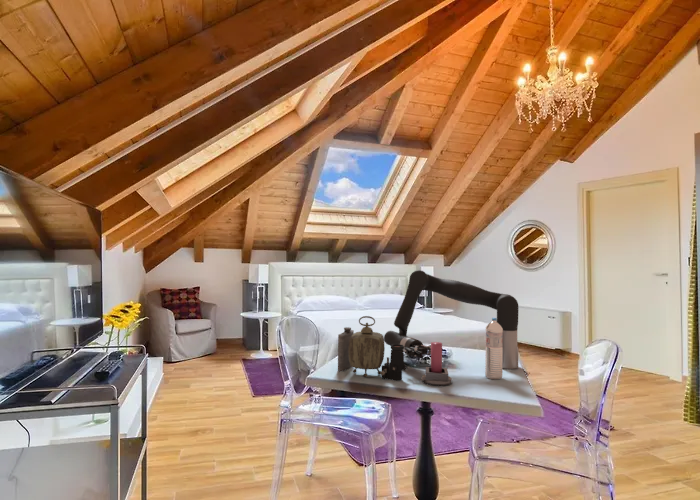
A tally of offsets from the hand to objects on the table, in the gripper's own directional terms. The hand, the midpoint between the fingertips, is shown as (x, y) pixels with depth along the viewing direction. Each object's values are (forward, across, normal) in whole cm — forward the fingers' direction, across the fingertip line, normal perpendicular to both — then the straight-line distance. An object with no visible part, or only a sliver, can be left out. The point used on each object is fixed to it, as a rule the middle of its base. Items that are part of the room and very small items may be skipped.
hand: (430, 354), depth 173 cm
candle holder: (+5, 0, +10) cm, 11 cm away
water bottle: (+7, +26, +10) cm, 29 cm away
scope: (-4, -15, +10) cm, 18 cm away
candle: (+5, 0, +8) cm, 10 cm away
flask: (-26, -27, +10) cm, 39 cm away
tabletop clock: (-12, -24, +10) cm, 28 cm away
